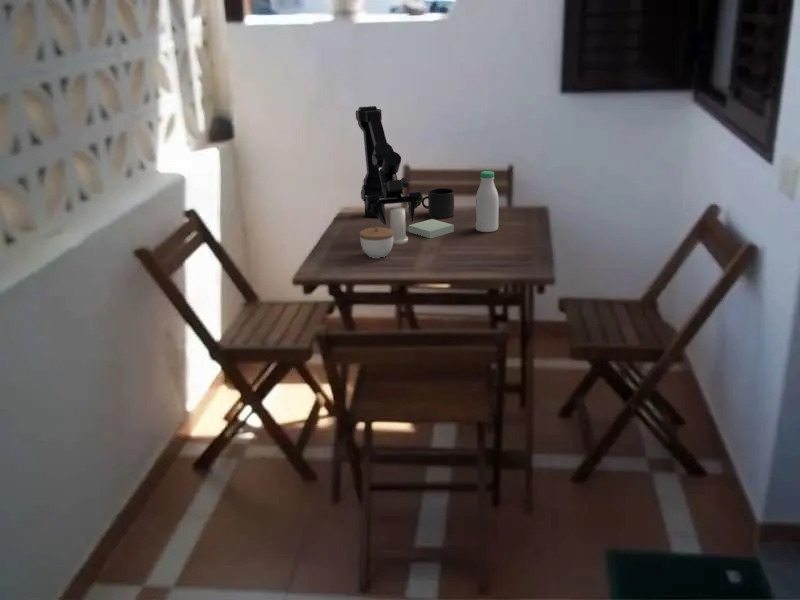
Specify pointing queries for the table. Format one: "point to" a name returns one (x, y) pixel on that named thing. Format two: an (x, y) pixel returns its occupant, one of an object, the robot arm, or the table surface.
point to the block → (431, 228)
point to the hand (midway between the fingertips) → (398, 222)
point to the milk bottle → (487, 204)
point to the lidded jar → (376, 241)
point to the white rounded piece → (398, 225)
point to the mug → (440, 202)
